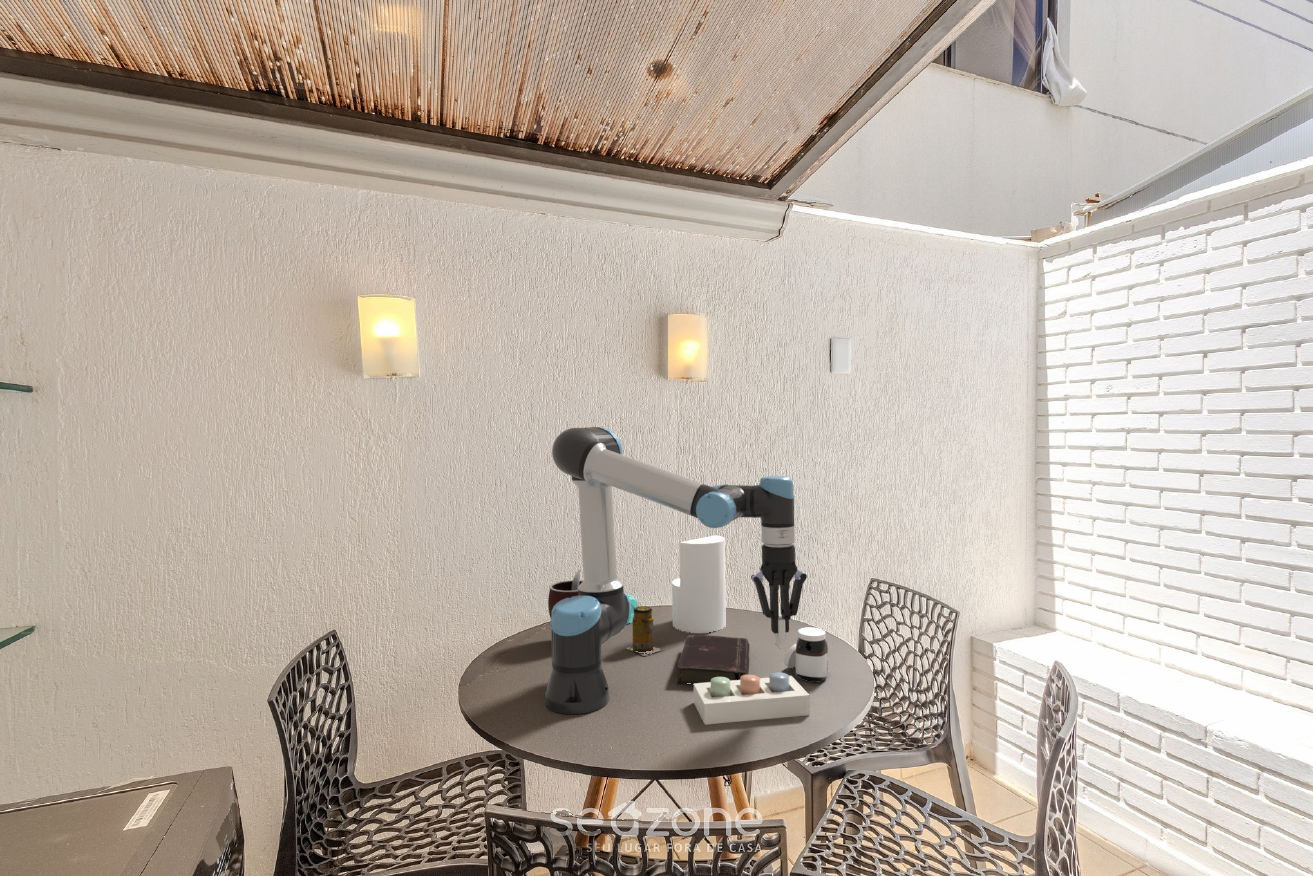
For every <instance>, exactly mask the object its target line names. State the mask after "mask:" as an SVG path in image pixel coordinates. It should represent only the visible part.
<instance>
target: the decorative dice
mask: <svg viewBox="0 0 1313 876" xmlns="http://www.w3.org/2000/svg"><path fill="white" fill-rule="evenodd" d="M625 594H626V593H625ZM626 595H628V597H629V599H630V602H631V607H632V611H631V617H630V619H629V621H628V623H627V624H626V625H630V624H633V617H634V608H635V607H638V606H639V605H638V604H639V603H638V602H637V600H636V599H635V597H634V596H633V595H630V594H626ZM629 623H630V624H629Z"/></svg>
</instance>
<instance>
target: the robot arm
mask: <svg viewBox="0 0 1313 876" xmlns="http://www.w3.org/2000/svg"><path fill="white" fill-rule="evenodd" d="M551 448H552V451H551V455H552V459H553V462H554V464H555V466H556V467H557V468H558V469H559V470H560V471H561V472H563V474H566V475H568V476H571V482H572V483H573V484H574V485H575V486H577V489H578V506H579V507H578V508H579V520H580V521H579V522H580V537H581V539H580V540H581V542H580V543H581V555H582V574H583V580H582V581H583V582H582V583H581V584H580V585H579V587H578V593H579V596H573V597H571V598H566V599H563V600H561V601H559V602H558V603H557V604H556V605H555V606H554V607H553V609H552V616H551V618H550V630H551V632H550V635H551V672H550V675H549V679H548V683H547V687H546V690H545V692H544V704H545V706H546V708H548V709H549V710H550V711H552V712H555V713H559V714H564V715H579V714H587V713H588V714H589V713H591V712H594V711H598V710H599V709H601V708H604V707H605V706H606V705H607V704H608V702H609V701H610V687H609V685H608V681H607V678H606V676H605V673H604V670H603V666H602V644H604V643H605V642H607V641H608V640H609V639H611V638H612V637H614V636H617V634H619V633H620V632H622V630H623V629H624V628H625V627H626V626H627V625H628V624H627V623H628V621H629V619H630V617H631V611H632V607H631V602H630V599H629V597H628V595H629V594H627V595H626V591H625V588H624V582H623V581H621V580H620V578H618V574H617V573H618V569H617V555H616V553H617V552H616V540H615V539H616V537H615V522H614V521H615V520H614V503H613V488H616V489H618V490H621V491H624V492H627V493H629V494H633V495H635V496H638V497H641V499H642V498H643V499H645V500H648V501H651V502H653V503H656V504H658V505H661V506H664V507H668V508H669V509H672V510H674V511H677V512H679V513H683V514H686V515H689V516H691V517H693V518H696V519H698V521H699V522H700V523H701V524H702V525H703V526H705V527H706V528H710V529H716V528H717V529H718V528H723V527H725V526H727V525H729V524H731V522H733V521H735V520H737V519H739V518H748V519H749V518H754V519H757V518H760V529H761V530H760V531H761V534H760V537H761V539H760V540H761V543H762V545H761V566H760V568H759V571H758V572H757V573H756V574H752V575H750V579H751V581H752V582H753V584H754V585H755V588H756V592H757V596H758V601H759V604H760V607H761V613H762V614H763V615H764V616H765V617H766V618H768V619H770V625H771V626H770V627H771V628H770V630H771V632H772V633H773V634H774V640H775V642H774V643H775V646H776V647H777V648H778V649H780V650H781V649H786V648H787V647H786V646H787V644H786V643H787V642H786V633H789V632H790V620H791V619H792V618H791V617H794V616H797V615H798V611H799V605H800V600H801V595H802V591H803V586H804V583H805V581H806V580H807V578H808V575H807V573H805V572H803V571H800V570H799V569H798V566H797V564H796V546H795V545H794V543H796V537H795V532H796V531H795V495H794V484H793V480H792V478H791V477H788V476H785V475H784V476H783V475H776V476H763V477H761V478H760V479H759V484H756V485H747V484H746V485H745V484H743V485H742V484H741V485H740V484H720V485H718V484H717V485H712V486H710V485H707V484H704V483H702V482H700V481H697V480H695V479H691V478H689V477H685V476H683V475H680V474H677V473H674V472H671V471H668V470H666V469H662V468H660V467H658V466H654V465H651V464H648V463H646V462H643V461H640V460H637V459H635V458H632V457H629V456H627V455H623V446H622V443H621V440H620V438H619V437H618V436H617V435H616V434H615V433H614V432H613V431H611V430H610V429H607V428H603V427H600V426H592V427H588V426H587V427H571V428H567V429H565V430H563V431H562V432H561V433H559V435H557V437H556V438H555V440H554V442H553V445H552V447H551ZM612 487H613V488H612ZM793 578H794V581H793V584H792V589H791V590H792V591H791V594H790V586H791V585H790V582H792V579H793ZM764 579H765V580H766V581H767V583H768V588H769V600H768V597H767V594H766V589H765V586H764V584H763V582H764ZM779 593H780V594H779ZM779 595H780V597H779ZM779 598H780V602H779ZM768 601H769V602H768ZM779 603H780V605H779ZM779 606H780V608H779ZM779 609H780V611H779ZM779 613H780V614H779ZM779 615H780V616H779Z"/></svg>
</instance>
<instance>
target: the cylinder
mask: <svg viewBox="0 0 1313 876" xmlns="http://www.w3.org/2000/svg"><path fill="white" fill-rule="evenodd" d="M725 539H726V538H725V537H723V536H721V535H716V534H715V535H710V536H706V537H700V538H696V539H689V540H685V541H680V542H679V577H678V578H675V579H674V580H673V581H672V582H671V594H672V595H671V598H672V600H671V601H672V602H671V603H672V605H671V606H672V608H671V609H672V627H673V628H674V627H675V628H674V629H675V630H678V629H679V630H678V631H680V630H681V631H680V632H684V631H686V632H685V633H689V632H690V634H710V633H709V632H711V633H714V632H713V631H716V632H719V631H718V630H720V629H722V630H723V628H724V627H725V628H726V626H727V622H726V621H727V618H726V616H727V614H726V612H727V611H726V610H727V609H726V608H727V607H726V605H727V604H726V603H727V602H726V601H727V599H726V596H727V595H726V540H725ZM725 628H724V629H725ZM720 631H721V630H720Z"/></svg>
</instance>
